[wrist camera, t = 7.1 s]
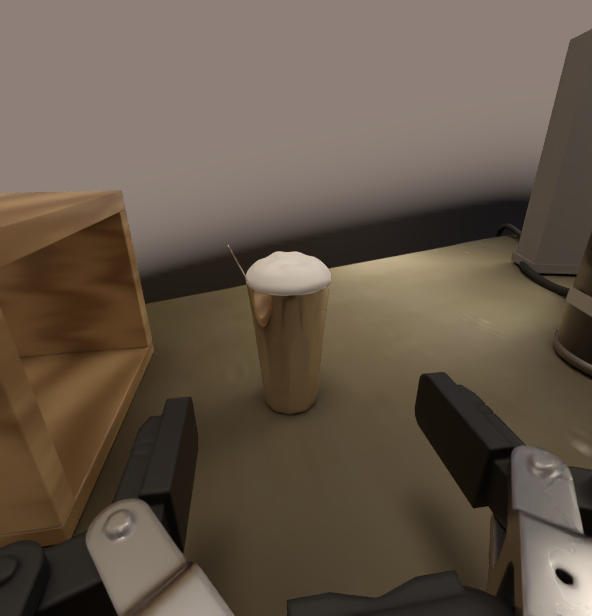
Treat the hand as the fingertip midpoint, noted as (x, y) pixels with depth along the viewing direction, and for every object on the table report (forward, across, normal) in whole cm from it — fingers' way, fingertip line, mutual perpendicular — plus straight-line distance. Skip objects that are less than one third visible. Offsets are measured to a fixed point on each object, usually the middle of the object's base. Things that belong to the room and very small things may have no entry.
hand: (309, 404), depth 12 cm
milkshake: (+8, 0, +6) cm, 10 cm away
